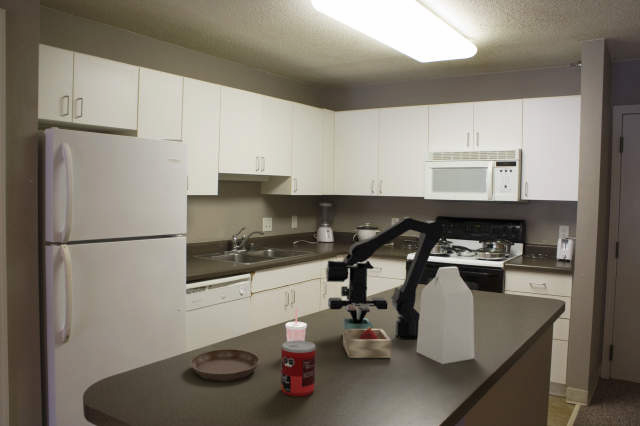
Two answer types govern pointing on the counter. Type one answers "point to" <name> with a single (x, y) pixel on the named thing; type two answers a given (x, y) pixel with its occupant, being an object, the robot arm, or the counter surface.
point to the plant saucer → (224, 364)
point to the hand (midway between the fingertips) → (356, 329)
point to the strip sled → (365, 341)
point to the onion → (368, 334)
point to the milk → (446, 318)
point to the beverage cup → (296, 330)
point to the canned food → (298, 368)
